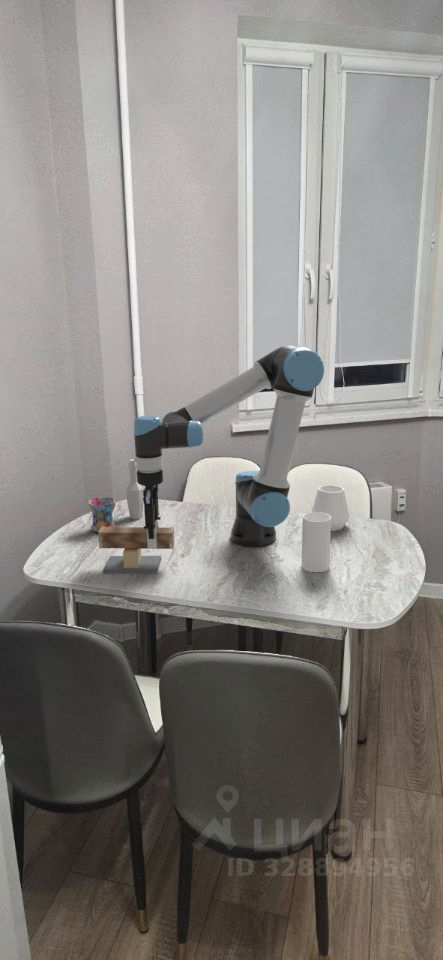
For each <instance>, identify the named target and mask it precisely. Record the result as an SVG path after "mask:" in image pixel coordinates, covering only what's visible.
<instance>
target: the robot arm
mask: <svg viewBox="0 0 443 960" xmlns="http://www.w3.org/2000/svg"><path fill="white" fill-rule="evenodd" d="M324 373H325V366H324V362H323V360H322V358H321V356H320V355H319V354H318V353H317V352H315V351H314V350H313V349H310V348H307V347H303V346H297V345H293V344H292V345H290V344H287V345H281V346H280V347H278V348H276V349H275V350H273V351H271V352H269V353H267V354H265V356H263V357H261V358H260V359H258V360H256V361H254V362H253V366H252V367H250V368H249V369H247V370H245V371H243V372H242V373H240V374H239V375H236V376H235V377H234V378H232V379H230V380H228V381H227V382H225V383H223V384H222V385H220V386H217V387H216V388H214V389H212V390H211V391H209V392H208V393H206V394H204V395H202V396H201V397H199V398H197V399H195V400H194V401H192V402H190V403H189V404H187V405H184V406H183V407H182V408H180V409H178V410H176V411H170V412H167V413H166V414H164V416H163V417H162V419H161V418H160V417H159V416H158V415H149V414H148V415H142V416H141V415H140V416H138V417H136V418H135V419H134V422H133V425H134V429H133V435H134V436H133V437H134V448H135V458H134V461H135V462H137V463H136V466H137V470H138V471H137V482H138V484H140V485H142V486H144V488H143V510H144V511H143V512H144V522H145V523H144V526H143V527H144V528H146V529H147V545H148V548H157V536H156V527H159V526H160V525H159V521H161V516H160V512H159V510H160V509H159V485H161V484H162V483H163V482H164V470H163V466H164V463H163V450H165V449H167V450H168V449H180V448H181V449H183V448H184V449H185V448H190V449H191V448H194V447H195V448H196V447H199V446H202V444H203V442H204V430H203V429H204V428H203V425H204V424H206V423H208V422H209V421H211V420H212V419H214V418H216V417H218V416H219V415H222V414H223V413H224V412H227V411H228V410H230V409H232V408H233V407H236V406H237V405H239V404H240V403H242V402H244V401H245V400H247V399H248V398H250V397H252V396H254V395H256V394H258V393H259V392H261V391H263V390H264V389H268V390H270V389H273V391H274V393H275V395H276V399H275V404H274V407H273V412H272V416H271V421H270V425H269V429H268V434H267V439H266V442H265V447H264V450H263V455H262V460H261V464H260V468H259V470H247V471H246V470H245V471H242V472H238V473H237V474H236V475H235V482H234V484H235V518H234V522H233V524H232V528H231V531H230V539H231V541H232V542H233V543H235V544H237V545H239V546H246V547H262V546H264V547H265V546H268V545H271V544H273V543H275V541H276V539H277V530H276V528H275V527H277V526H279V525H281V524H282V523H284V521H286V520H287V519H288V516H289V514H290V512H291V505H290V501H289V499H288V498H289V497H288V496H289V493H290V492H289V491H290V488H291V484H290V482H289V481H288V474H289V471H290V467H291V462H292V458H293V455H294V451H295V446H296V443H297V439H298V433H299V429H300V425H301V422H302V417H303V413H304V409H305V405H306V402H308V401H309V400H311V399H312V398H313V395H314V390H315V388H316V387H318V386H319V385H320V383H321V382H322V380H323V378H324V375H325V374H324Z"/></svg>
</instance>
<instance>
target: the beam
mask: <svg viewBox="0 0 443 960" xmlns="http://www.w3.org/2000/svg"><path fill="white" fill-rule="evenodd" d="M97 534H98V538H97V539H98V549H125V548H134V549H141V550H143V549H144V550H146V549H147V550H148V549H152V550H153V549H154V550H155V549H156V550H157V549H159V550H164V549H165V550H173V549H174V546H175V527H174V526H173V527H172V526H171V527H156V536H157V548H148V545H147V529H146V528H144V526H143V527H141V526H140V527H139V526H136V527H135V526H132V527H131V526H130V527H129V526H125V527H124V526H116V527H101V528H100V530H99V532H97Z"/></svg>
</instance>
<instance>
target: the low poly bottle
mask: <svg viewBox="0 0 443 960" xmlns="http://www.w3.org/2000/svg"><path fill="white" fill-rule="evenodd" d="M134 459H135V458H134ZM134 459H133V458H132V459H129V463H128V470H129V480H130V481H129V483H128V485H127V486H126V487H125V489H126V490H125V491H126V502H127V503H126V504H127V507H128V513H129V519H130V520H140V519H142V518H143V515H144V514H143V512H144V511H143V510H144V501H143V497H144V496H143V490H144V488H143V485H140V484H138V482H137V471H138V470H137V466H136V463H137V462H135V461H134Z"/></svg>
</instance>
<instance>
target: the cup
mask: <svg viewBox="0 0 443 960" xmlns="http://www.w3.org/2000/svg"><path fill="white" fill-rule="evenodd" d="M301 527H302V529H301V530H302V531H301V533H302V536H301V537H302V539H301V568H302V570H303V571H306V572H308V571H309V572H308V573H312V572H315V573H314V574H319V573H318V572H321V573H325V572H328V571H329V570H330V562H331V561H330V559H331V534H332V533H331V532H332V531H331V516H330V515H328V514H326V513H321V512H312V511H310V512H307V513H304V514H303V515H302V526H301ZM328 569H329V570H328ZM316 572H317V573H316Z"/></svg>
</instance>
